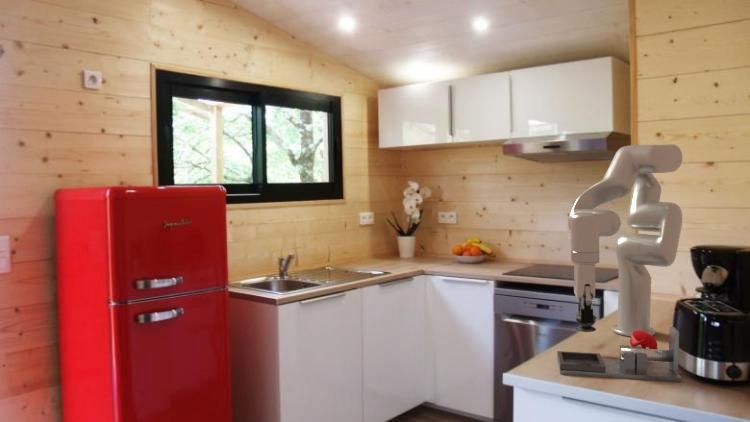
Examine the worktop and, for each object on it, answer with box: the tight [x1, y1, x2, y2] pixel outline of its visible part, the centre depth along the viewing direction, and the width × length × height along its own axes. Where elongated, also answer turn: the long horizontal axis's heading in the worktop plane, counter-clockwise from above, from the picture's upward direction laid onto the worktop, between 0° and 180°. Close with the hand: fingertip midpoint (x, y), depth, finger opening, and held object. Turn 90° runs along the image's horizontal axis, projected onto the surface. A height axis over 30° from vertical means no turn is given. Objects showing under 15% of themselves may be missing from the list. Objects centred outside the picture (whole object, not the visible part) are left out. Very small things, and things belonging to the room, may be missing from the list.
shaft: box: [619, 326, 680, 372], centre depth 154 cm, size 5×13×10 cm, turn 77°
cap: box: [629, 330, 659, 350], centre depth 171 cm, size 8×6×6 cm
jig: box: [556, 345, 683, 383], centre depth 156 cm, size 12×28×6 cm, turn 77°
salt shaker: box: [574, 296, 598, 333], centre depth 170 cm, size 6×6×12 cm
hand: (585, 318), depth 171 cm, fingers closed on salt shaker, 5 cm apart
